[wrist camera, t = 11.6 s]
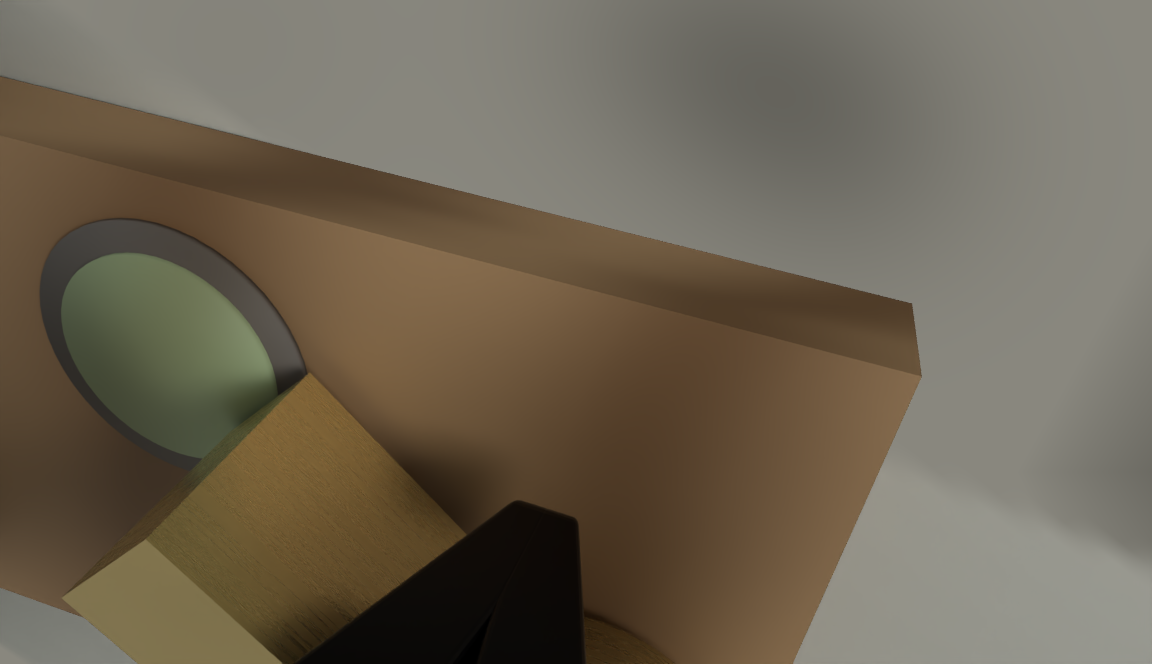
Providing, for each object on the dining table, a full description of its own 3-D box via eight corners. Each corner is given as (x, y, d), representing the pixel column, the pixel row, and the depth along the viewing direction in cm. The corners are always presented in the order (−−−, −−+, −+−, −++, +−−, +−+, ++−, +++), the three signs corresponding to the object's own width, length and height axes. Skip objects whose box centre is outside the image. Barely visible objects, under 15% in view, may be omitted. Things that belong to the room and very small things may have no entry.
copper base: (912, 303, 9) (923, 388, 8) (723, 753, 14) (710, 855, 13) (-304, 0, 12) (-457, 24, 11) (-111, 469, 17) (-197, 528, 15)
